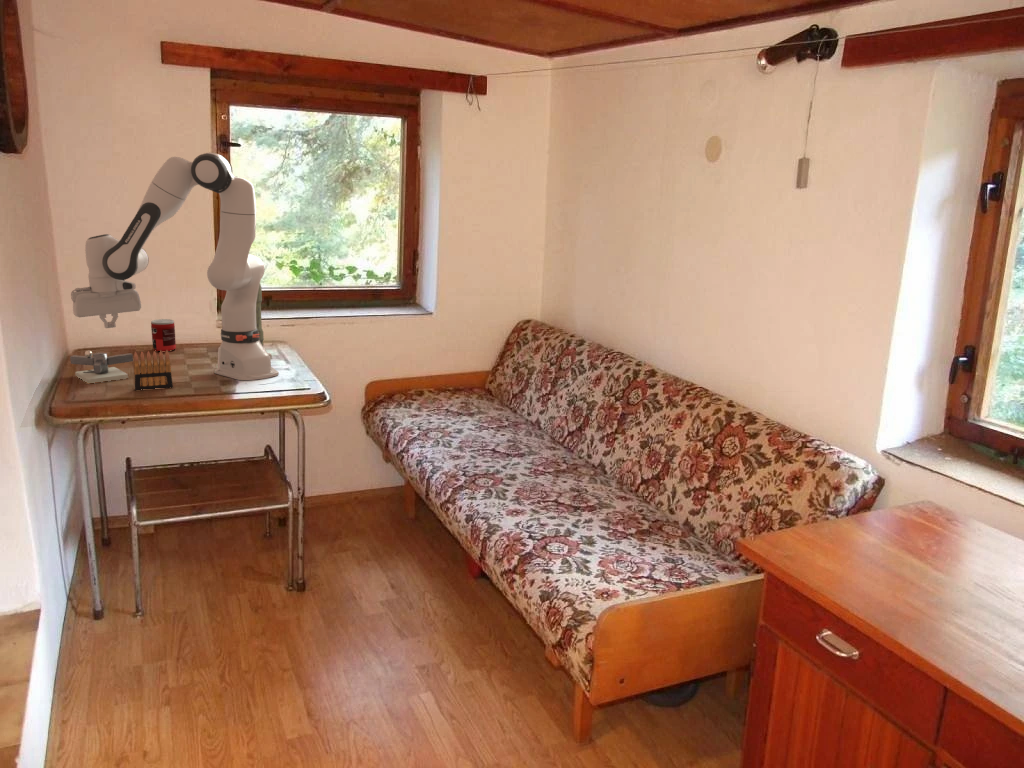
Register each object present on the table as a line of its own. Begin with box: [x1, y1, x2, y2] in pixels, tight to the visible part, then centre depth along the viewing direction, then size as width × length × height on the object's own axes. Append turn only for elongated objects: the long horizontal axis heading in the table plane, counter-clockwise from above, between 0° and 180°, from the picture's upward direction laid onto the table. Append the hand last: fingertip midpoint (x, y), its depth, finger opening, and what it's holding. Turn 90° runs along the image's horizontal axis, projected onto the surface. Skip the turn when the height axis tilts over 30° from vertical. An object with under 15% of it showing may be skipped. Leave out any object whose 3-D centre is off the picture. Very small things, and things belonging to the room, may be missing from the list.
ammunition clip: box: [133, 350, 174, 391], centre depth 249 cm, size 11×2×12 cm, turn 118°
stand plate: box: [75, 366, 129, 384], centre depth 260 cm, size 12×12×2 cm
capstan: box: [69, 349, 134, 374], centre depth 260 cm, size 16×18×7 cm
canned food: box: [150, 318, 177, 352], centre depth 300 cm, size 8×8×11 cm
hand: (110, 327), depth 266 cm, fingers closed
